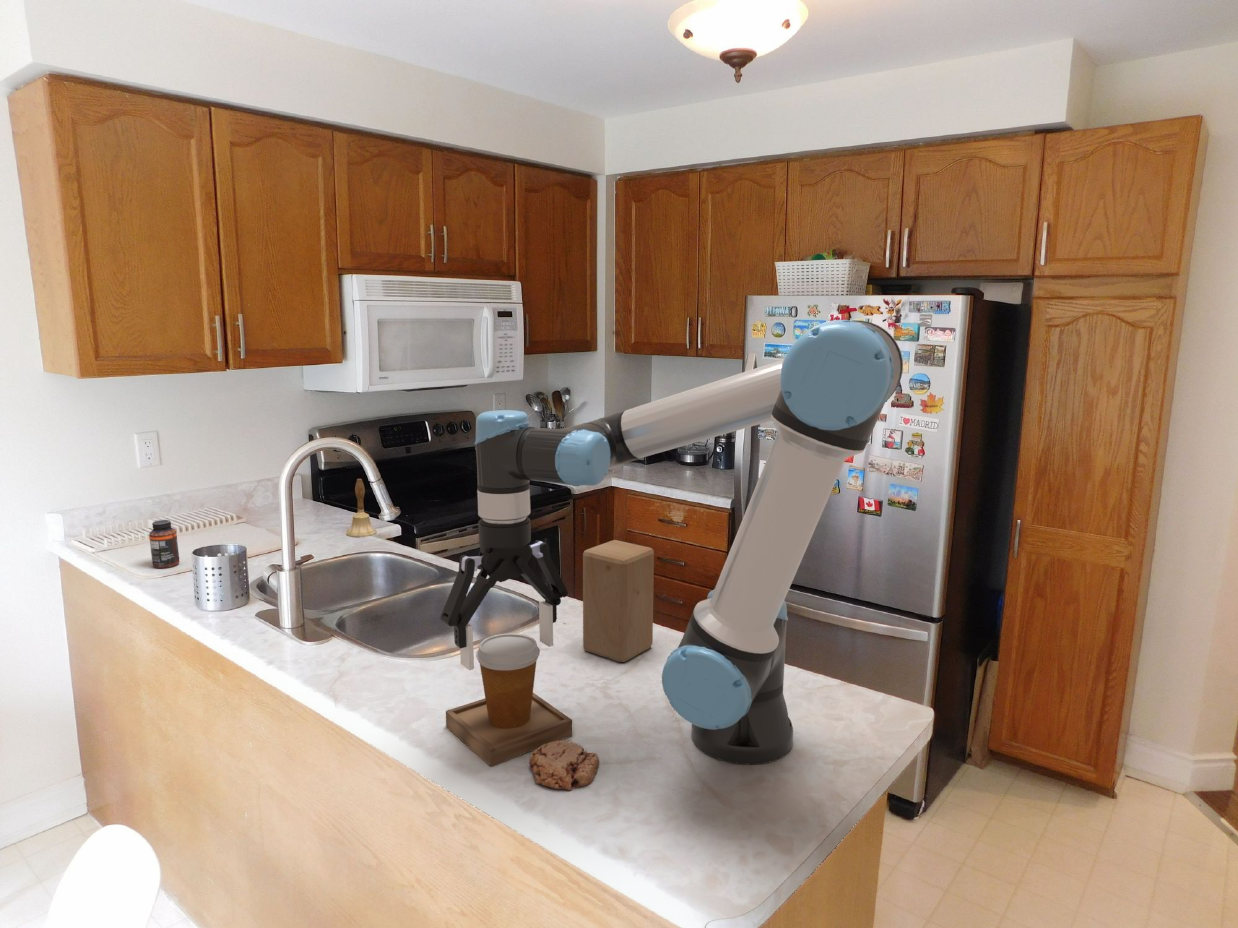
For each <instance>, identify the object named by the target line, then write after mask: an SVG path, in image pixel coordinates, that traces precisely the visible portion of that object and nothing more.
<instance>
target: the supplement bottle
mask: <svg viewBox="0 0 1238 928" xmlns="http://www.w3.org/2000/svg"><path fill="white" fill-rule="evenodd" d="M151 525H152V530H151V531H149V533H148V536H149V544H150V545H149V547H150V552H151V554H150V555H151V562H152V567H153V568H155V569H170V568H173V567H175V566H178V565H179V564H180V552H179V545H178V536H177V530H176V529H175V528H173V527H172V522H171V520H169V519H159V520H155V521H153V522H152V524H151Z"/></svg>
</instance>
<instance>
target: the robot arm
mask: <svg viewBox="0 0 1238 928" xmlns="http://www.w3.org/2000/svg"><path fill="white" fill-rule="evenodd" d="M903 368H904V360H903V355H902V351H901V348H900V347H899V344H898V342H897V340H895V338H894V336H892V334H891V333H890V332H889V331H888V330H886V329H885V328H883V327H882V326H880V325H878V324H876V323H872V322H870V321H864V320H849V319H836V320H829V321H825V322H822V323H820V324H818V325H815V326H814V327H811V328H810V329H808V330H807V331H805V332H804V333H803V334H802V335H801V336H800V337H799V338H797V340H795V342H794V343H793V344H792V345H791V346H790V348H789V350H788V352H787V353H786V355H785V357H784V358H783V359H780V360H778V361H773V362H772V363H771V362H770V363H769V364H765V365H762V366H759V367H756V368H753V369H749V370H746V371H743V372H740V373H737V374H734V375H731V376H728V377H725V378H724V377H723V378H721V379H718V380H715V381H712V382H708V383H706V384H703V385H700V386H696V387H694V388H691V389H687V390H685V391H681V392H679V393H675V394H672V395H669V396H666V397H662V398H660V399H657V400H654V401H651V402H650V401H649V402H647V403H645V404H641V405H637V406H636V407H635V406H634V407H632V408H629V409H626V410H624V411H618V412H616V413H613V414H611V415H607V416H602V417H599V418H598V419H594V420H590V421H588V422H584V423H580V424H576V425H572V426H568V427H565V428H545V427H544V428H543V427H534V426H530V422H529V415H527V413H526V412H524V411H522V410H520V411H519V410H515V409H514V410H513V409H512V410H511V409H506V410H505V409H502V410H501V409H499V410H489V411H484V412H481V413H480V414H478V416H476V420H475V441H474V447H475V457H476V468H477V469H476V471H477V475H476V477H477V484H476V485H477V491H476V493H477V516H478V517H480V519H479V520H478V522H477V523H478V543H479V548H480V549H479V553H478V554H477V556H476V555H475V556H467V555H466V554H463V555H460V557H459V562H458V572H457V574H456V577H455V579H454V581H453V584H452V587H451V590H450V592H449V594H448V597H447V599H446V602H445V604H444V607H443V610H442V612H441V615H440V617H439V618H440V620H441V622H443V623H444V624H446V625H447V626H449V627H453V636H454V644H455V646H456V647H457V648H458V649H459V654H460V655H459V656H460V665H461V666H463V667H464V668H465V669H466V670H469V671H473V670H474V669H475V661H474V659H475V658H474V656H475V654H474V630H473V629H474V627H473V625H472V624H470V621H471V620H472V618H473V616H474V614H475V613H476V612H477V610H478V608H479V607H480V605H481V604H482V602H483V600H484V599H485V597H486V596H487V594H488V593H489V591H490V590H491V589H492V588H494V586H495V585H496V584H497V582H499V583H502V582H503V583H504V582H506V581H508V580H516V579H519V577H522V578H523V579H524V580H525V581H527V583H528V584H529V585H530V586H531V587H532V588H533V589H534V590H535V591H536V593H537V594H539V595H540V597H541V598H542V599H543V600H540V601H538V615H539V616H538V620H539V623H538V624H539V642H540V643H542V644H543V645H545V646H547V647H548V648H549V647H554V623H556V622H557V619H558V614H557V613H558V612H557V611H558V609H557V606H560V604H561V603H562V600H561V599H562V598H567V596H568V594H569V592H568V589H567V587H566V586H565V584H564V582H563V580H562V578H561V575H560V574H559V572H558V570H557V567H556V566H555V563H554V561H553V559H552V557H551V552H550V546H549V544H548V543H547V542H543V541H541V540H538V539H536V540H535V541H534V542H533V544H530V542H531V541H532V537H531V536H532V533H531V532H532V531H531V527H532V526H531V519H530V518H529V517H528V516H529V515H530V514H531V493H530V492H531V490H530V487H531V486H530V481H533V482H544V483H554V484H561V485H567V486H568V485H569V486H572V487H579V486H587V487H588V486H589V487H593V486H597V485H599V484H601V483H602V482H603V481H604V479H605V477H606V476H607V475H608V472H609V469H611V468H612V467H617V466H619V465H623V464H626V463H630V462H633V461H637V460H639V459H641V458H645V457H649V456H652V455H655V454H659V453H663V452H666V451H671V450H673V449H678V448H680V447H681V448H682V447H684V446H687V445H691V444H694V443H699V442H702V441H705V440H709V439H712V438H713V439H714V438H716V437H718V436H719V437H720V436H723V435H726V434H730V433H733V432H736V431H740V430H744V429H747V428H751V427H754V426H758V425H762V424H766V423H768V422H773V425H774V428H775V430H776V435H775V437H774V440H773V443H772V445H771V448H770V451H769V453H768V456H767V458H766V461H765V463H764V465H763V468H762V470H761V473H760V475H759V478H758V480H757V482H756V485H755V488H754V490H753V492H752V495H751V497H750V501H749V502H748V504H747V506H746V507H747V508H746V510H745V513H744V515H743V518H742V520H741V521H740V522H741V523H740V525H739V528H738V530H737V533H736V535H735V538H734V540H733V543H732V544H731V547H730V549H729V552H728V554H727V558H726V559H725V562H724V565H723V568H722V569H721V572H720V574H719V577H718V580H717V582H716V585H715V587H714V588H713V590H710V591H709V592H708V593H707V598H706V599H703V600H700V601H699V602H697V604H696V605H695V607H694V608H693V611H692V613H691V616H690V617H689V621H688V624H687V625H686V627H685V631H684V633H683V636H682V639H680V643H678V644H679V645H678V646H677V648H675V649H674V650H673V651H672V652H670V654H669V655H668V656H667V659H666V661H665V663H664V666H663V669H662V673H661V686H662V690H663V692H664V694H665V696H666V698H667V700H668V703H669V705H670V706H671V708H673V710H674V711H675V712H676V713H677V714H678V715H679V716H680V717H681V718H682V719H684V720H685V721H686V722H688V723H690V724H691V739H692V742H693V743H694V744H695V746H696V747H697V748H698V749H699V750H701V751H702V752H704V753H705V754H706V755H708V756H710V757H713V758H715V759H718V760H720V761H724V762H728V763H732V764H738V765H739V764H740V765H760V764H766V763H771V762H775V761H778V760H780V759H781V758H783V757H785V756H786V755H787V754H789V752H790V751H791V749H792V747H793V744H794V743H793V742H794V741H793V740H794V727H793V723H792V720H791V718H790V717H789V711H788V707H787V702H786V699H785V696H784V680H785V662H786V661H785V660H786V639H787V624H788V623H787V621H789V617H788V615H787V614H788V607H787V603H786V600H785V599H786V597H787V595H788V593H789V590H790V588H791V585H792V583H793V581H794V579H795V576H796V574H797V572H798V569H799V567H800V564H801V563H802V561H803V559H804V556H805V554H806V551H807V549H808V546H809V544H810V542H811V540H812V537H813V536H814V532H815V530H816V528H817V525H818V523H819V521H820V519H821V516H822V514H823V513H824V509H825V508H826V506H827V503H828V500H829V499H830V496H831V493H832V491H833V489H834V486H835V484H836V482H837V480H838V478H839V475H840V472H841V470H842V468H843V467H844V466H843V465H844V464H845V461H846V460H847V459H849V458H851V457H854V456H857V455H859V454H862V453H864V450H865V449H866V447H867V444H868V442H869V440H870V437H871V435H872V433H873V431H874V428H875V426H876V424H877V422H878V419H879V417H880V415H881V412H882V411H883V409H884V406H885V404H886V402H887V401H888V400H889V399H890V398H891V397H892V396H893V394H895V393H896V391H897V389H898V387H899V385H900V383H901V380H902V377H903V376H902V375H903V370H904V369H903ZM532 556H533V557H535V559H536V561H537V563H538V565H539V567H540V569H541V571H542V573H543V575H544V577H545V579H546V581H547V582H548V585H549V586H550V588H551V589H550V588H549V586H548V585H547V584H546V583H545V582H544V581H543V580H542V579H541V578H540V577H539V575H537V574H536V571H534V569H533V568H532V567H531V566H530V565H529V564H528V563H529V562H530V559H531V558H532ZM479 566H480V567H481V569H480V571H479V572H478V574H477V575H476V578H475V579H476V580H475V581H474V584H473V585H472V586H471V584H472V583H473V579H474V576H475V572H477V571H478V567H479ZM470 587H471V588H470Z"/></svg>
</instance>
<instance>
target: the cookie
mask: <svg viewBox="0 0 1238 928" xmlns="http://www.w3.org/2000/svg"><path fill="white" fill-rule="evenodd" d="M528 763H529V767H530V768H531V770H532V772H533V774H534V778H535V779H534V780H535V782H536V784H538V785H542V786H545V787H549V788H551V789H555V790H556V789H557V790H559V789H560V791H562V790H564V791H565V790H567V791H572V790H573V789H575V788H576V787H577V788H581V787H584V786H587V785H589V784H591V783H592V782H593V781H594V778H595V776H596V775H597V774H598V773H597V772H598V768H599V764H600V758H599V756H598V753H596V752H595V753H594V752H588V751H587V750H585V749H584V747H583V746H582V745H580V744H579V743H575V742H573V741H569V740H557V741H553V742H550V743H547V744H543V745H541V746H540V747H538V748H537V749H535V750H533V752H532V755H530V757H529V762H528ZM573 787H575V788H573ZM577 788H576V789H577Z"/></svg>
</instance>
